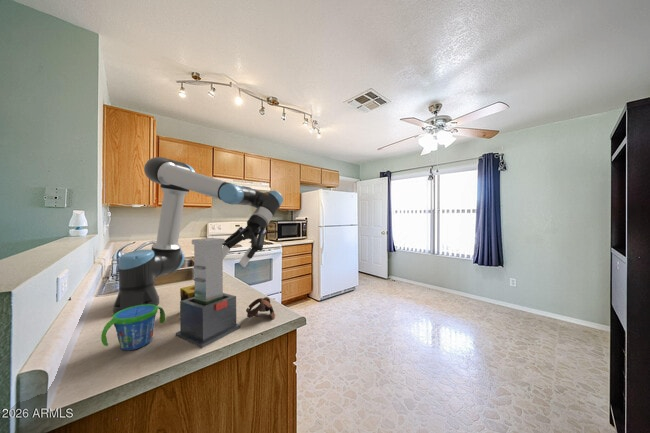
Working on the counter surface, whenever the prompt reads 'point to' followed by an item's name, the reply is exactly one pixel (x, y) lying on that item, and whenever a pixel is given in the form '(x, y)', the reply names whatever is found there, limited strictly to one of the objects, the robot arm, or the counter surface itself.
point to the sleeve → (207, 320)
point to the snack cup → (134, 326)
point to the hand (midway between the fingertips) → (228, 263)
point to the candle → (187, 292)
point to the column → (208, 270)
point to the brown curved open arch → (260, 307)
